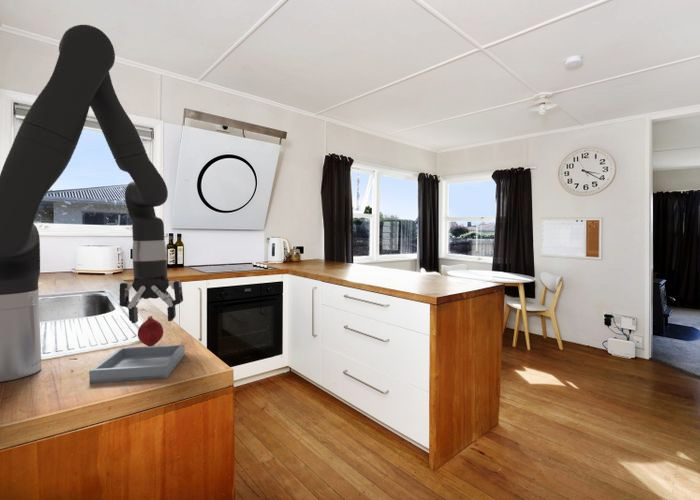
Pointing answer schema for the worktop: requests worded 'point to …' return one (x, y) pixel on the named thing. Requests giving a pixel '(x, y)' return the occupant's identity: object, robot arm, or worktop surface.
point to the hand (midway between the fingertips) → (153, 321)
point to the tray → (138, 364)
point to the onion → (150, 332)
